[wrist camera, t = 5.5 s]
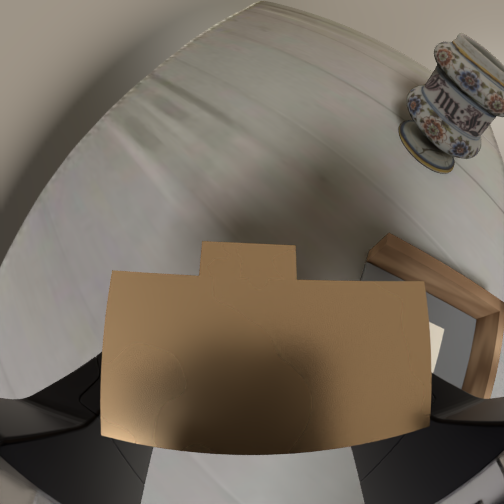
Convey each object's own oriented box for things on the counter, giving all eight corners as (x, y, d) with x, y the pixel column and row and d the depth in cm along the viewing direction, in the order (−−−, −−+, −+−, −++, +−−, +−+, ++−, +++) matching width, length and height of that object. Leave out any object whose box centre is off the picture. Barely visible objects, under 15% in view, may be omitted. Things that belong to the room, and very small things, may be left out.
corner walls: (446, 446, 18) (471, 451, 14) (308, 412, 19) (323, 421, 16) (482, 312, 23) (506, 304, 20) (369, 250, 25) (388, 232, 21)
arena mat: (438, 445, 18) (441, 445, 17) (308, 412, 19) (310, 413, 19) (474, 320, 23) (477, 319, 22) (365, 263, 25) (367, 261, 24)
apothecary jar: (467, 189, 30) (542, 108, 13) (402, 168, 30) (478, 56, 13) (444, 129, 35) (495, 52, 18) (383, 108, 34) (428, 11, 18)
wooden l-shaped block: (289, 385, 14) (429, 426, 3) (198, 383, 14) (101, 435, 3) (288, 258, 17) (367, 92, 6) (205, 255, 17) (171, 75, 6)
